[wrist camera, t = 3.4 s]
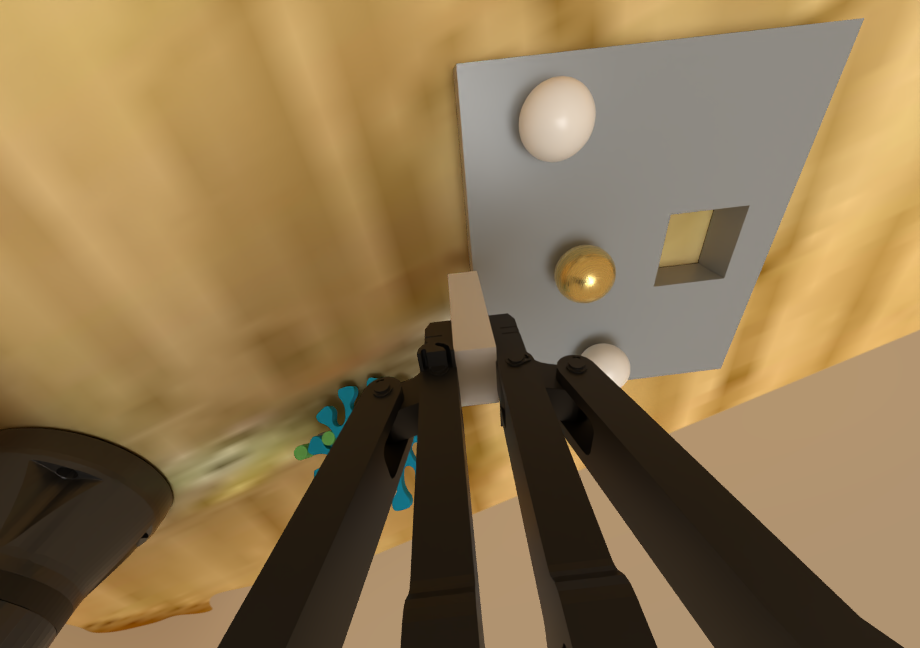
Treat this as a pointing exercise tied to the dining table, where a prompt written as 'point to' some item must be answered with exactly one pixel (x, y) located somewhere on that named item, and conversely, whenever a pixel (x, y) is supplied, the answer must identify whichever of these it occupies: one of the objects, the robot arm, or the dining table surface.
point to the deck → (644, 184)
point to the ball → (585, 273)
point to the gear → (327, 439)
